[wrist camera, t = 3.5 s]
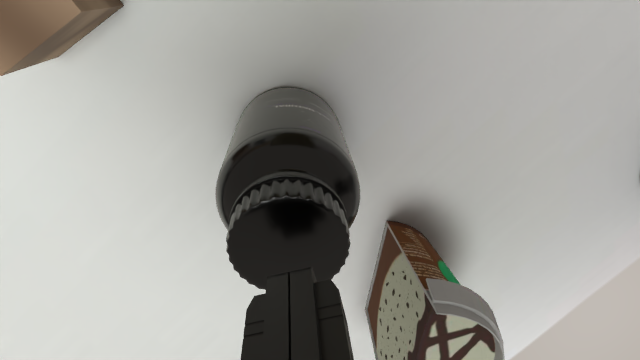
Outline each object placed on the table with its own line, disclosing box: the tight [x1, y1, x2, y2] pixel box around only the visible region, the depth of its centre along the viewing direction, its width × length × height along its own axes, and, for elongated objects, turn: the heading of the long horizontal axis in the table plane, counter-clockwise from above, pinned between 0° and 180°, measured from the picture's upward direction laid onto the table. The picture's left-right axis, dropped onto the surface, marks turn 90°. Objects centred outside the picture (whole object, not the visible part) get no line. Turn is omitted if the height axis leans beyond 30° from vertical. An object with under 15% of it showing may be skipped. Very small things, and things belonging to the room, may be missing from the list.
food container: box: [365, 221, 504, 360], centre depth 27 cm, size 12×6×10 cm, turn 173°
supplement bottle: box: [216, 87, 360, 290], centre depth 19 cm, size 7×7×12 cm
